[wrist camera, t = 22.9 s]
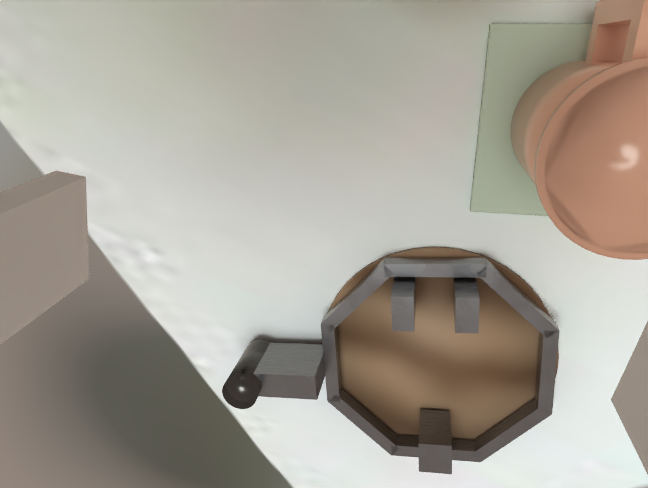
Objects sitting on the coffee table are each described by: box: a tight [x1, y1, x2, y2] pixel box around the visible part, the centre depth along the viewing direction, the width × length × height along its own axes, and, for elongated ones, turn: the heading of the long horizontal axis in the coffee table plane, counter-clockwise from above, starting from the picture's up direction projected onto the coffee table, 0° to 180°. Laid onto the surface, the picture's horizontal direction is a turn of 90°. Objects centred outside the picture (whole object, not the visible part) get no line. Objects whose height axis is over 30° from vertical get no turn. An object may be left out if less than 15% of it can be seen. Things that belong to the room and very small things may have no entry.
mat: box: [470, 24, 592, 216], centre depth 34 cm, size 12×12×1 cm
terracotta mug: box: [510, 0, 648, 260], centre depth 27 cm, size 9×11×12 cm
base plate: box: [322, 247, 559, 441], centre depth 41 cm, size 18×18×1 cm
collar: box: [222, 258, 559, 474], centre depth 39 cm, size 24×17×6 cm
